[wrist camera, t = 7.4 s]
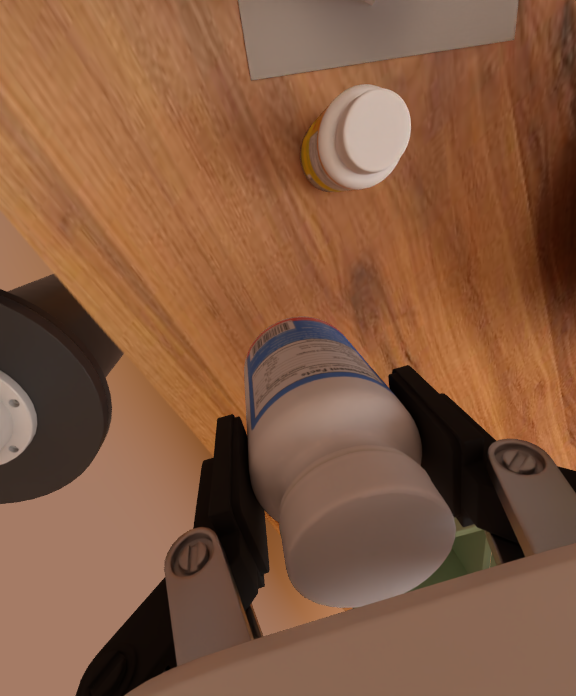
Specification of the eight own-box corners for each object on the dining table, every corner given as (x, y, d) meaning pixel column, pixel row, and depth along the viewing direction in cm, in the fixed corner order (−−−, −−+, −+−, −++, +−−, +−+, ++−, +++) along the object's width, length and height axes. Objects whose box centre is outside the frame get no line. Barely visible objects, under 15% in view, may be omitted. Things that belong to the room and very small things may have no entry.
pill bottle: (338, 411, 18) (439, 620, 9) (239, 408, 17) (241, 640, 8) (361, 316, 15) (525, 467, 7) (249, 306, 14) (268, 466, 6)
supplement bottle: (359, 109, 26) (426, 58, 17) (365, 185, 28) (426, 177, 19) (292, 122, 26) (322, 78, 16) (303, 198, 28) (335, 196, 19)
